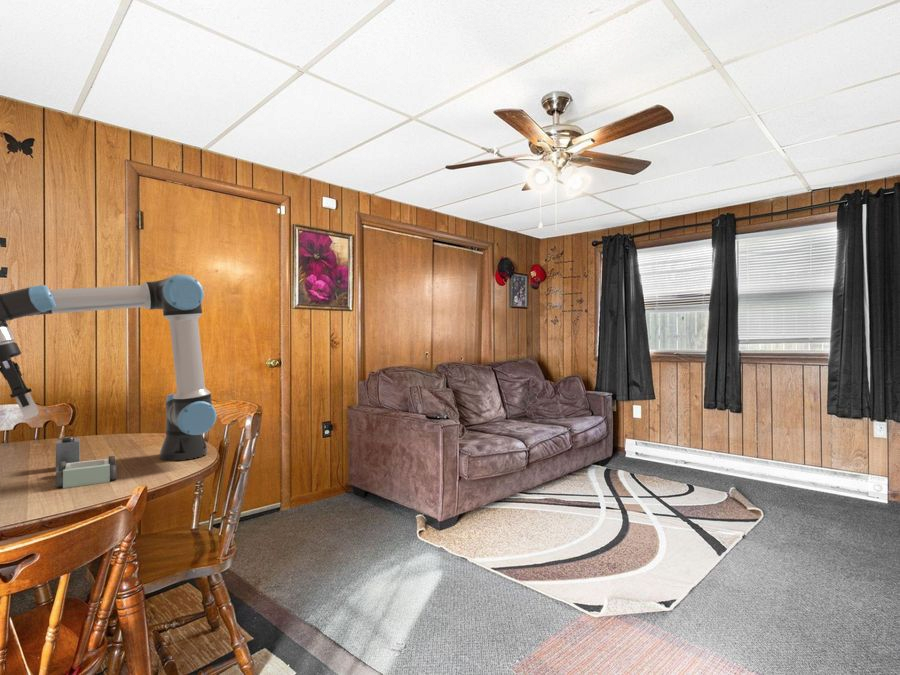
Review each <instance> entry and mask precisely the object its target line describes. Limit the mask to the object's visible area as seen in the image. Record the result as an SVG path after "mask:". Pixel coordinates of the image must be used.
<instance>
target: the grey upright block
mask: <svg viewBox="0 0 900 675" xmlns="http://www.w3.org/2000/svg"><path fill="white" fill-rule="evenodd" d="M80 455H81V438H80V437H76V438H75V437H74V436H65V437H62V438H61V439H57V440H56V442H55V472H59V462H64V461H66V463H74V462H81V456H80Z"/></svg>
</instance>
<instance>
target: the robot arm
mask: <svg viewBox="0 0 900 675" xmlns="http://www.w3.org/2000/svg"><path fill="white" fill-rule="evenodd" d="M204 296H205V292H204V288H203V286H202V284H201V283H200V282H199V281H198V280H197V279H196V278H195V277H193V276H191V275H187V274H174V275H171V276H169V277H167V278H164V279H160V280H155V281H144V282H143V283H142V284H140V285H138V284H137V285H135V284H134V285H118V286H100V287H99V286H98V287H81V288H63V289H62V288H60V289H59V288H58V289H49V287H48V286H47V285H45V284H40V285H34V286H33V285H32V286H30V287H29V286H28V287H25V288H21V289H17V290H12V291H9V292H4V293H0V374H1V375H2V376H3V378H4V380H5V381H7V383H8V384H7V385H8V386H9V388H10V390H11V394H10V398H11V399H13V398H14V399H15V401H16V403H17V405H18V407H19V409H20V412H21V413H22V416H23V418H24V419H25V420H28V419H31V418H33V417H34V418H35V417H37V416H38V414H40V411H39V409H38V407H37V404H36V403H35V401H34V399H33V397H32V395H31V393H32V392H33V390H32V388H29V387H27V385H26V384H25V381H24V380H23V377H22V376H23V374H22V372H21V369H20V365H19V364H18V362H15V361H13V360H12V358H15V357H19V356H20V355H22V352H21V349H20V347H19V344H18V343H17V342H14V341H15V340H16V339H15V337H14V334H13V332H12V330H11V328H10V326H9V325H8V323H7V321H12V320H14V319H20V318H24V317H33V316H40V315H41V316H43V315H51V314H53V315H54V314H63V313H64V314H68V313H78V312H80V313H81V312H92V311H93V312H94V311H108V310H109V311H110V310H121V309H134V308H144V309H147V310H149V311H150V310H162V312H163V318H165V319H166V320H167V321H168V322H169V330H170V340H171V348H172V349H171V350H172V356H173V357H172V359H173V366H174V375H175V384H176V393H170V394H168V395H167V396H166V401H165V438H164V440H163V442H162V446H161V449H160V451H159V453H160V454H159V459H161V460H162V459H163V461H168V460H180V461H187V460H186V459H189V460H194V459H193V458H195V459H198V458H197V457H199V458H202V457H204V456H203V455H205V454H206V455H207V454H208V446H207V444H206V440H205V438H204V435H203V434H205V433H207V432H208V431H210V430H211V429H212V428H213V426H214V425H215V423H216V421H217V417H218V416H217V410H216V409H215V407H214V405H213V402H212V394H211V393H212V392H211V391H210V390H208V389H207V388H206V384H205V382H206V381H205V374H204V364H203V354H202V344H201V337H200V336H201V335H200V327H199V326H200V325H199V319H200V317H201V316H202V315H203V308H202V306H203V305H202V303H203V301H204ZM30 392H31V393H30ZM206 455H205V456H206ZM201 456H202V457H201Z"/></svg>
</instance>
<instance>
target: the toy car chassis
mask: <svg viewBox="0 0 900 675" xmlns="http://www.w3.org/2000/svg"><path fill="white" fill-rule="evenodd" d="M115 457H116V455H109V456H108V458H103V459H94V460H93V459H92V460H86V461H83V460H82V461H80V462H74V463H66V461H64V462H59V471H57V472H56V471H55V472H56V474H55V488H56V489H57V488H62V489H68V488H75V487H82V486H90V485H91V486H92V485H97V484H105V483H110V481H113V480H114V481H115V480H117V464H116V458H115Z"/></svg>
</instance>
